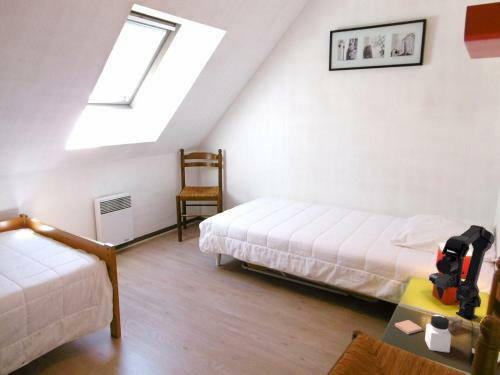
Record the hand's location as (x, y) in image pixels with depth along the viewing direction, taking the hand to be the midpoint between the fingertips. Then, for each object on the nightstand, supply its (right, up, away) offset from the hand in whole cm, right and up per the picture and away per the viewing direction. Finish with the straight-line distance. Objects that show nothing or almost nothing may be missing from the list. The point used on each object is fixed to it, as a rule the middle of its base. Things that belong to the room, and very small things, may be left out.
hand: (450, 303), depth 154 cm
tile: (-14, -10, +2) cm, 17 cm away
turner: (-2, -11, 0) cm, 11 cm away
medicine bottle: (-12, -13, -12) cm, 21 cm away
